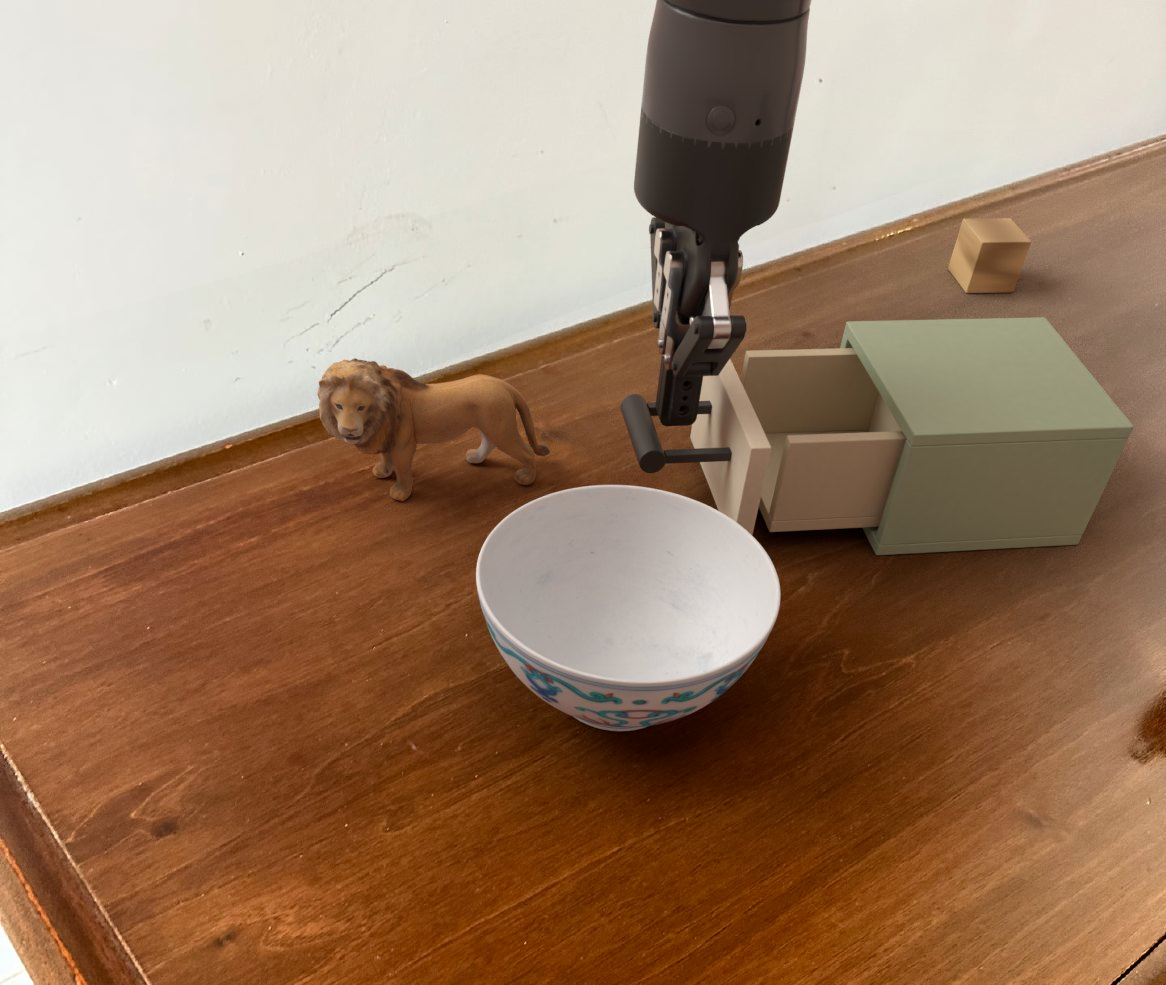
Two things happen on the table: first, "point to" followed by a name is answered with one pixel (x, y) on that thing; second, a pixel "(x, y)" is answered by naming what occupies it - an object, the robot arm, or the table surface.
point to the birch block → (988, 255)
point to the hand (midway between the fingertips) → (674, 418)
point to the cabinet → (988, 433)
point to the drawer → (786, 440)
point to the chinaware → (626, 602)
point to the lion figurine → (422, 417)
